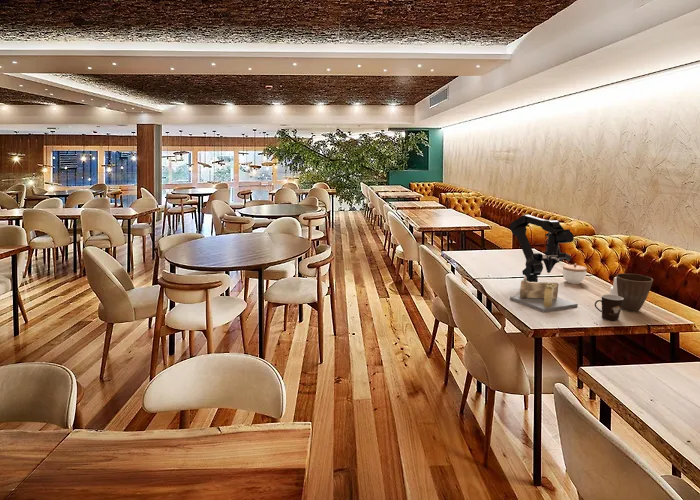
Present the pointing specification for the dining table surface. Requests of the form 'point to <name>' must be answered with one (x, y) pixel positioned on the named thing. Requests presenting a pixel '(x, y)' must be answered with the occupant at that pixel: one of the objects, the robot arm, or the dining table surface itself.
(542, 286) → the ash link
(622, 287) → the plant pot
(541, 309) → the slate board
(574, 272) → the lidded bowl
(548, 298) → the brass keeper
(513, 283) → the dining table surface
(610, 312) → the coffee mug
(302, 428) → the dining table surface
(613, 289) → the cream cylindrical piece
